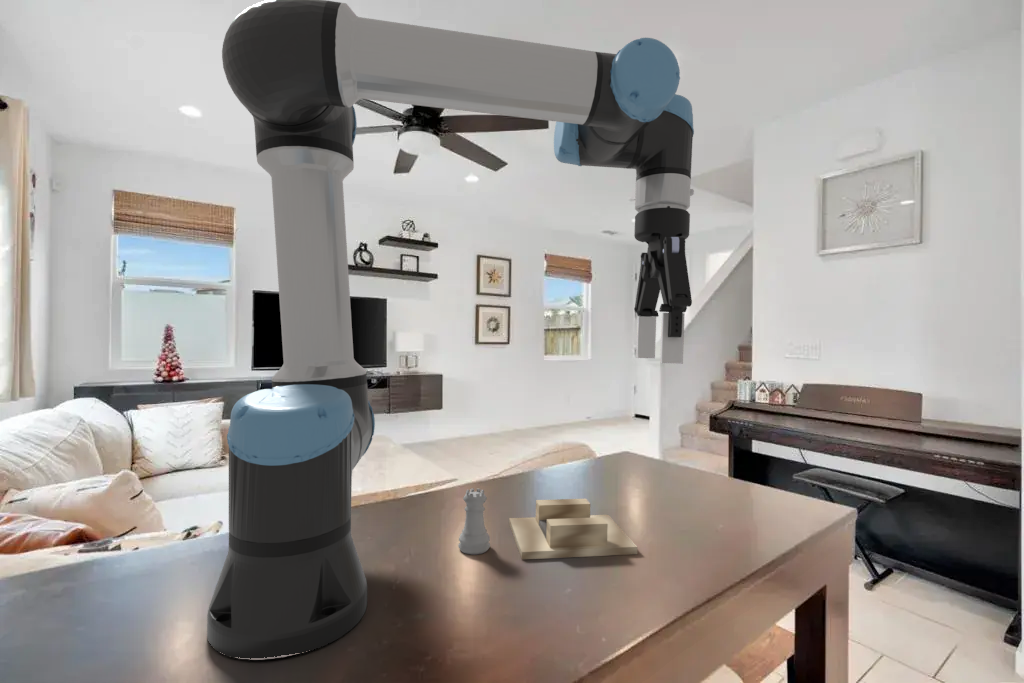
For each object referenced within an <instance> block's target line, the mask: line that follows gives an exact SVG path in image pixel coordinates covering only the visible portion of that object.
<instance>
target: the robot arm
mask: <svg viewBox="0 0 1024 683" xmlns="http://www.w3.org/2000/svg"><path fill="white" fill-rule="evenodd" d="M221 60H222V68H223V71H224V75H225V77H226V80H227V84H228V85H229V86H230V89H231V91H232V92H233V94H234V95H235V97H236V98H237V99H238V101H239V102H240V104H241V105H243V107H245V109H246V110H247V111H248V112H249V113H250V115H251V116H252V118H253V123H254V137H255V153H256V162H257V164H258V165H259V167H261V168H262V169H263V170H265V172H266V173H268V175H270V178H271V190H272V193H271V194H272V206H273V207H272V208H273V220H274V221H273V222H274V223H273V224H274V234H275V236H274V238H275V249H276V250H275V252H276V253H275V254H276V266H277V268H276V269H277V281H278V282H277V283H278V295H279V296H278V297H279V298H278V299H279V312H280V325H281V327H280V328H281V342H282V343H281V345H282V358H283V359H282V360H283V364H282V366H281V367H280V368H279V370H278V371H277V372H275V373H274V375H273V376H272V377H271V388H264V389H263V388H262V389H259V390H256V391H253V392H250V393H248V394H246V395H243V396H242V397H241V398H239V399H238V400H237V401H236V402H235V404H234V405H233V407H232V409H231V412H230V419H229V420H230V422H229V427H228V428H227V429H228V432H227V435H226V440H227V445H228V551H227V555H226V558H225V561H224V563H223V567H222V568H221V571H220V574H219V577H218V581H217V584H216V586H215V588H214V592H213V594H212V597H211V600H210V603H209V605H208V609H207V618H206V621H207V622H206V627H207V628H206V639H207V641H209V642H208V644H209V643H210V644H211V645H210V644H209V645H210V647H211V646H213V647H214V648H215V649H216V650H217V651H219V652H221V653H223V654H225V655H227V656H231V657H238V658H239V657H240V658H250V659H251V658H264V657H265V658H267V657H274V656H275V657H277V656H281V655H289V654H295V653H302V652H306V651H309V650H312V651H314V650H313V649H315V650H317V649H316V648H318V649H320V648H322V647H325V646H327V645H329V644H332V643H333V642H334V641H336V640H338V639H340V638H341V637H343V636H344V635H346V634H347V633H348V632H350V631H352V629H354V627H355V626H356V625H357V624H358V623H359V622H360V621H361V620H362V619H363V617H364V615H365V613H366V610H367V606H368V584H367V582H368V581H367V578H366V575H365V571H364V569H363V566H362V562H361V561H360V557H359V555H358V551H357V548H356V545H355V542H354V539H353V537H352V492H353V491H352V490H353V488H352V482H353V481H352V479H353V478H352V477H353V470H354V469H355V467H356V466H357V465H358V463H359V462H360V460H361V459H362V457H363V456H364V455H365V454H366V453H367V451H368V450H369V448H370V445H371V444H372V441H373V437H374V434H375V429H376V428H375V426H376V420H375V414H374V412H373V407H372V405H371V403H370V400H369V392H368V390H369V389H368V380H367V377H368V375H367V371H366V369H365V368H364V367H363V366H361V365H360V364H359V363H358V362H357V361H356V360H355V358H354V357H355V356H354V343H353V342H354V341H353V328H352V327H353V326H352V309H351V295H350V294H351V293H350V276H349V263H348V262H349V259H348V245H347V244H348V243H347V230H346V213H345V212H346V211H345V209H346V208H345V199H344V198H345V196H344V183H343V182H344V179H346V178H347V177H348V175H349V174H350V173H352V172H353V170H354V167H355V165H354V164H355V163H354V148H353V145H354V143H355V139H356V135H357V127H358V126H357V124H358V123H357V115H356V110H355V107H354V105H355V104H356V103H357V102H358V101H359V100H368V101H379V102H386V103H394V104H395V103H396V104H403V105H412V106H421V107H430V108H437V109H438V108H439V109H446V110H453V111H455V110H456V111H464V112H472V113H473V112H474V113H481V114H489V115H498V116H504V117H505V116H507V117H513V118H514V117H515V118H524V119H533V120H541V121H549V122H555V126H554V132H553V133H554V134H553V151H554V153H553V154H554V156H555V158H556V160H557V161H558V162H560V163H561V164H569V165H575V166H578V167H582V166H583V167H584V166H586V167H602V168H617V169H629V170H632V169H633V170H635V173H636V174H635V175H636V177H635V192H634V193H635V195H634V201H635V202H634V210H635V211H636V212H637V213H636V214H635V216H634V233H633V234H634V235H633V236H634V239H635V240H636V241H638V242H640V243H646V244H647V250H646V252H641V254H640V268H639V275H638V282H637V289H636V296H635V305H634V313H636V315H637V326H636V327H637V330H636V331H637V332H636V333H637V334H636V358H637V359H655V358H656V340H657V339H656V338H657V336H656V335H657V334H656V332H657V318H658V317H659V313H658V312H660V313H661V322H660V323H661V325H660V326H661V329H660V332H661V333H660V354H659V355H660V356H659V360H660V362H659V363H660V364H677V365H678V364H680V365H681V364H684V337H685V314H686V312H687V309H688V307H691V306H692V304H693V300H692V293H691V285H690V280H689V279H690V277H689V272H688V264H687V256H686V240H687V239H688V238H689V236H690V228H691V227H690V221H691V220H690V219H691V214H690V213H689V211H688V209H689V208H690V206H691V197H692V196H693V195H695V190H694V188H691V182H692V163H693V160H692V156H693V139H694V134H695V130H694V114H693V106H692V103H691V101H690V99H688V98H686V96H684V95H680V94H676V93H677V90H678V88H679V84H680V80H681V77H680V75H681V72H680V65H679V62H678V59H677V57H676V55H675V54H674V52H673V51H672V50H671V48H670V47H669V46H668V45H667V44H665V43H664V42H662V41H660V40H659V39H655V38H652V37H641V38H637V39H634V40H632V41H630V42H628V43H627V44H625V45H624V46H623V47H622V48H621V49H620V50H618V51H617V53H610V52H601V51H594V50H592V51H591V50H586V49H579V48H574V47H573V48H572V47H567V46H559V45H552V44H545V43H540V42H539V43H538V42H533V41H524V40H519V39H518V40H517V39H511V38H505V37H496V36H490V35H484V34H479V33H478V34H477V33H472V32H471V33H469V32H463V31H458V30H457V31H456V30H451V29H443V28H435V27H430V26H423V25H415V24H409V23H402V22H395V21H388V20H382V19H374V18H367V17H360V16H357V14H356V13H355V12H354V11H353V10H352V8H351V7H350V6H349V4H348V3H346V2H340V1H333V0H332V1H331V0H264V1H261V2H257V3H256V4H253V5H252V6H249V7H247V8H246V9H244V10H243V11H242V12H241V13H239V14H238V15H237V16H236V17H235V18H234V19H233V21H232V22H230V25H229V26H228V28H227V31H226V32H225V34H224V38H223V42H222V50H221ZM660 294H661V298H662V302H663V303H661V304H660V307H659V311H658V310H656V308H657V305H658V299H659V296H660ZM328 643H329V644H328ZM321 646H322V647H321ZM216 650H215V651H216ZM217 651H216V652H217ZM219 652H218V653H219ZM225 655H224V656H225ZM227 656H226V657H227ZM231 657H230V658H231Z"/></svg>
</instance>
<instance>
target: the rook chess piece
mask: <svg viewBox="0 0 1024 683" xmlns="http://www.w3.org/2000/svg"><path fill="white" fill-rule="evenodd" d="M462 499H463V501H464V502H465V505H466V506H465V507H464V512H465V519H464V520H465V521H464V526H463V529H462V530H461V533H460V535H459V537H458V541H459V543H458V544H457V546H458V548H459V550H460V552H462V553H464V555H465V554H466V555H470V556H471V555H472V556H474V555H475V556H476V555H478V556H479V555H482V554H484V553H486V552H487V551H488V550H489V548H491V543H490V534H489V533H488V531H487V529H486V526H485V519H484V518H485V517H484V511H485V510H486V508H485V506H484V503H485V502H486V500H487V495H486V494H485V490H484V489H481V488H477V487H476V491H475V489H474V488H470V489H466V490H465V495H464V496H463V498H462Z"/></svg>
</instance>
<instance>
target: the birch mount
mask: <svg viewBox="0 0 1024 683" xmlns="http://www.w3.org/2000/svg"><path fill="white" fill-rule="evenodd" d="M508 524H509V527H510V530H511V533H512V536H513V539H514V542H515V545H516V547H517V551H518V554H519V556H520V559H521V561H522V560H539V559H542V560H543V559H560V558H561V559H562V558H563V559H566V558H578V557H579V558H585V557H604V556H605V557H606V556H621V555H625V556H626V555H627V556H629V555H638V546H637V545H636V544H635V543H634V541H633V540H632V539H631V538H630V537H629V536H628V535H627V533H626V532H625V531H623V529H622V528H621V527H620V526H619V524H617V523H616V521H614V519H613V518H612V517H611V516H610V515H609V514H591V502H590V501H589V500H588V499H587V498H565V499H563V498H562V499H558V498H557V499H536V500H535V516H533V517H529V516H528V517H509V522H508Z"/></svg>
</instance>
